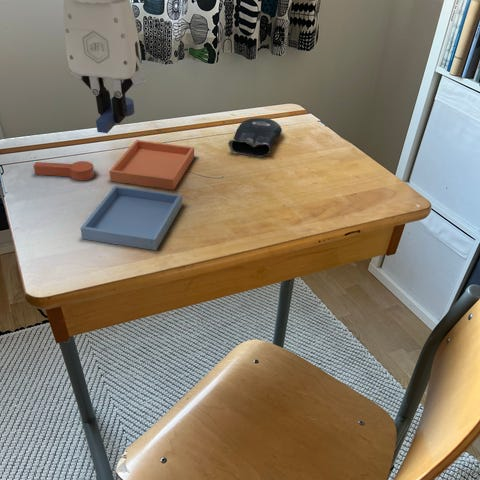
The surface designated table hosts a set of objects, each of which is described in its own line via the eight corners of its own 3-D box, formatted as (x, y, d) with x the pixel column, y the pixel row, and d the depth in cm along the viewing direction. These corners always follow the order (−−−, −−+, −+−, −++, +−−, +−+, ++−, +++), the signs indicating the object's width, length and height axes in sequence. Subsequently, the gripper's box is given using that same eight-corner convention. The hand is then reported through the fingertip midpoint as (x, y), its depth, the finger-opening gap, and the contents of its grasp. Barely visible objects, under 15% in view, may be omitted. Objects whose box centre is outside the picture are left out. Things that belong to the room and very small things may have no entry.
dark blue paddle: (115, 134, 79) (113, 122, 78) (89, 131, 80) (87, 119, 78) (137, 109, 87) (136, 98, 86) (114, 106, 88) (112, 95, 86)
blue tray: (82, 238, 81) (80, 228, 80) (116, 195, 91) (114, 185, 90) (156, 250, 79) (155, 239, 78) (182, 205, 90) (181, 194, 88)
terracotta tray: (110, 180, 95) (109, 170, 94) (137, 149, 105) (136, 139, 104) (173, 189, 94) (173, 179, 92) (194, 156, 104) (194, 147, 103)
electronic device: (273, 165, 106) (284, 127, 115) (271, 140, 101) (283, 103, 111) (229, 164, 108) (244, 127, 117) (226, 140, 104) (241, 104, 113)
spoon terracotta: (33, 178, 95) (30, 168, 93) (40, 167, 98) (38, 158, 97) (91, 181, 95) (89, 172, 94) (96, 170, 98) (95, 161, 97)
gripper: (29, -14, 68) (57, 123, 81) (142, -5, 67) (153, 134, 79) (54, -24, 74) (77, 106, 86) (159, -15, 72) (167, 116, 85)
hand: (113, 118), depth 83 cm, fingers closed on dark blue paddle, 1 cm apart
